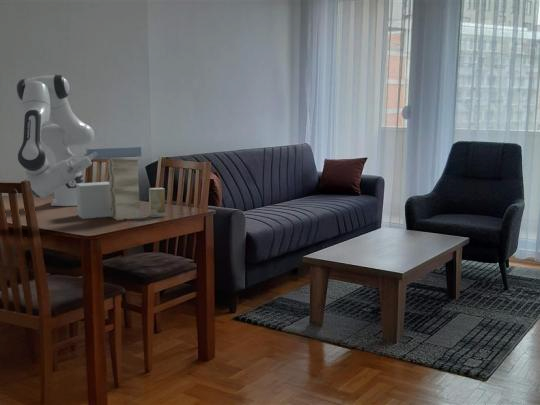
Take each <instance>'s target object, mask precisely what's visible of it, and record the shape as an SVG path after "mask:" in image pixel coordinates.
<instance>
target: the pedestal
mask: <svg viewBox="0 0 540 405" xmlns="http://www.w3.org/2000/svg"><path fill="white" fill-rule="evenodd" d="M106 160H107V162H108V178H109V179H108V180H109V181H108V182H109V185H110V206H111V216H110V217H111V218H112V219H113V220H115V219H116V220H115V221H125V220H124V219H127V220H136V219H141V211H140V210H141V209H140V206H141V205H140V188H139V186H140V185H139V161H138V160H140V157H120V158H106Z"/></svg>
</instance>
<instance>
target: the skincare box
mask: <svg viewBox="0 0 540 405" xmlns="http://www.w3.org/2000/svg"><path fill="white" fill-rule="evenodd" d="M148 206H149V209H148V210H149V211H148V212H149V213H148V214H149V217H151V218H161V217H166V189H165V188H164V187H150V188H148Z"/></svg>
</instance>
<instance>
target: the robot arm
mask: <svg viewBox="0 0 540 405" xmlns="http://www.w3.org/2000/svg"><path fill="white" fill-rule="evenodd" d="M16 93H17V95H18V98H19V99H20V101H21V102H22V104H21V110H22V119H23V124H24V126H23V140H22V144H21V146H20V148H19V150H18V153H17V159H18V160H17V161H18V164H20V166H22V168H23V169H24V172H25V176H26V182H27V181H30V183H31V188H32V193H31V194H32V195H33V196H34V197H35V198H40V199H42V198H45V197H47V196H49V195H50V194H52V197H53V199H52V201H51V203H50V206H52V207H54V206H58V207H75V206H76V207H77V193H76V184H79V183H84V177H83V174H82V172H83V171H84V170H85V169H87V168H89V167H90V166H92V165H93V162H92V160H94V159H93V158H94V157H96V156H97V155H98V153H97V152H96V151H94V152H93V153H92V154H90V155H88V156H87V154H86V153H84V154H81V153H77V154H74V153H72V151H71V150H70V147H71V148H73V147H74V148H75V147H77V148H82V147H86V146H90V145H92V143H93V142H94V140H95V131H94V129H93V128H92V127H91V126H90V125H89V124H86V123H85V122H83V121H82V120H81V119H79V118H78V117H77V116H76V114H75V113H74V112H73V110H72V108H71V105H70V102H69V100H68V96H69V94H70V84H69V81H68V78H66V76H64V75H61V74H55V75H54V74H53V75H52V74H51V75H41V76H33V77H30V78H22V79H20V80H19V81H18V82H17V84H16ZM49 122H51V123H52V124H48V123H49ZM41 143H42V144H43V145H45V146H46V147H47V148H48V149H49V150H50V151H51V152H52V154H53V156H54V159H55V164H54V165H52V166H51V165H50V162H49V159H48V157H47V156H46V152H45V151H44V149H43V146H42V144H41Z"/></svg>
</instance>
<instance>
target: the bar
mask: <svg viewBox="0 0 540 405" xmlns="http://www.w3.org/2000/svg"><path fill="white" fill-rule="evenodd" d="M85 150H86V153H85V154H87V156H88V155H90V154H92V153H93V152H94V151H96V152H97V153H98V155H97V156H96V157H94V158H93V159H92V160H100V159H102V160H103V159H106V160H107V158H120V157H139V158H140V157H142V147H141V146H122V147H121V146H118V147H97V148H96V147H93V148H86V149H85Z"/></svg>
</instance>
